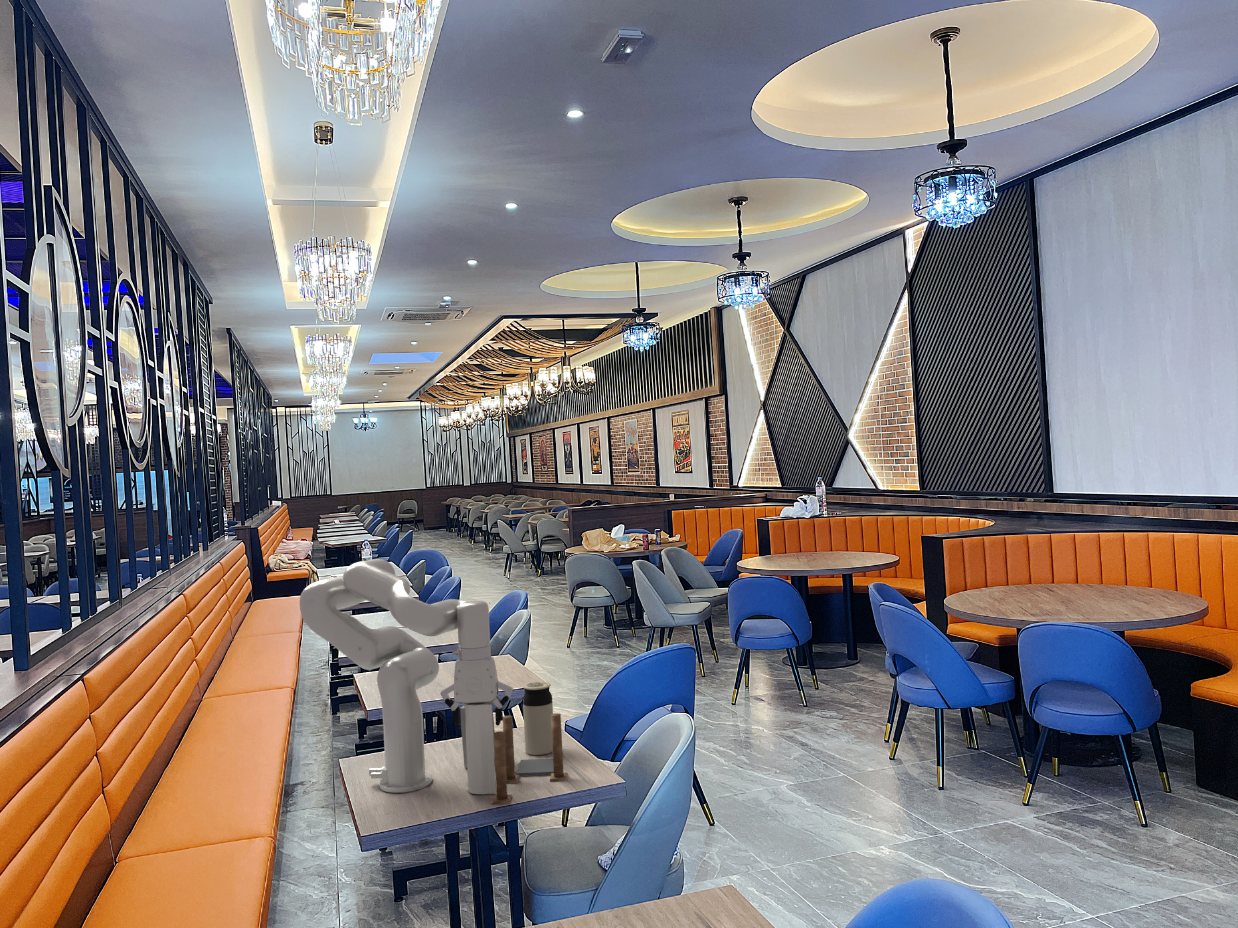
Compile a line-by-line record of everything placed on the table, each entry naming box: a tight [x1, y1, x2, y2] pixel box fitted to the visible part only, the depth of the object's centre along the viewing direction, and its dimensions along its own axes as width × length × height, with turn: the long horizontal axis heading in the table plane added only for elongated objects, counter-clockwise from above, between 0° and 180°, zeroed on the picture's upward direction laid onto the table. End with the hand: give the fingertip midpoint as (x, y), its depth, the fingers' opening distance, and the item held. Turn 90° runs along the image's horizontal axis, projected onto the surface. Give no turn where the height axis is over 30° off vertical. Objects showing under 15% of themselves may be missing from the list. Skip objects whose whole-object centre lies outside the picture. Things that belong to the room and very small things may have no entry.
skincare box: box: [460, 702, 496, 769], centre depth 224 cm, size 8×7×16 cm
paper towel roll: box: [463, 702, 497, 795], centre depth 204 cm, size 7×6×21 cm
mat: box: [515, 757, 554, 777], centre depth 218 cm, size 10×10×1 cm
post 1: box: [491, 730, 513, 805], centre depth 197 cm, size 4×4×16 cm
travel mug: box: [522, 681, 554, 756], centre depth 232 cm, size 8×8×18 cm
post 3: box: [549, 712, 569, 782], centre depth 210 cm, size 4×4×16 cm
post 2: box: [502, 715, 521, 784], centre depth 210 cm, size 4×4×16 cm
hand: (478, 724), depth 204 cm, fingers open, 9 cm apart
